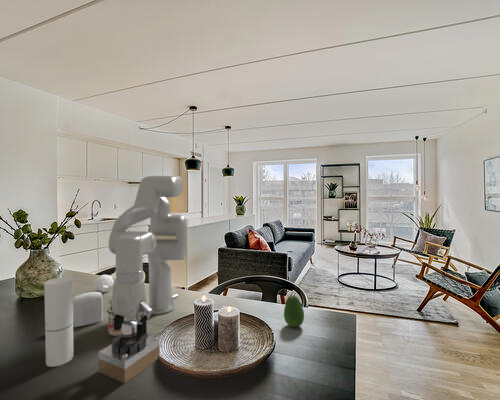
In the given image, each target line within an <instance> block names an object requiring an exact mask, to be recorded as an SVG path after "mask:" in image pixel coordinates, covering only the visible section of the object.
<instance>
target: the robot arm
mask: <svg viewBox="0 0 500 400" xmlns="http://www.w3.org/2000/svg"><path fill="white" fill-rule="evenodd" d="M183 189H184V181H183V179H182V177H181V176H179V175H148V176H145V177H143V178H142V179H141V180H140V183H139V185H138V190H137V192H136V196H135V200H134V202H133V205H132V206H130V207H129V208H128V209H126V210H125V211H124V212H123V213H122V214H121V215H119V216H118V217H117V219H115V221H114V223H113V226H112V228H111V232H110V235H109V239H108V249H109V252H110V253H112V254H114V255H115V280H114V283H113V286H112V287H113V288H112V292H111V293H112V297H111V299H110V300H108V303H109V305H110V306H111V311H112V312H113V314H112V316H113V317H114V330H118V329H120V328H122V323H123V322H124V317H128V318H136V320H137V322H138V324H137V338H140V337H141V336H143V335H145V334H146V333H147V331H148V330H147V328H148V327H147V322H148V321H149V320H150V318H151V316H152V315H163V314H167V313H170V312H172V311H173V310H174V309H175V307H176V304H175V302H173V301H174V300H176V299H177V298H178V297H179V295H178V294H177V293H175V294H173V295H172V267H171V265H170V264H169V263H168V261H181V260H184V259H185V258H186V257H187V255H188V221H187V219H186V217H185V216H184V215H182V214H171V203H170V201H169V200H168V198H177V197H178V196H180V195H181V194H182V193H183ZM148 219H150V222H149V223H150V231H145V230H143V231H141V230H140V231H137V230H134V231H127V230H128V229H129V228H131V227H132V226H134V225H136V224H138V223H140V222H143V221H146V220H148ZM156 236H157V237H176V238H156ZM144 255H147V262H148V282H149V283H148V295H149V296H148V301H149V303H148V304H147V294H146V286H145V281H144V279H143V278H144V268H143V267H144V266H143V265H144V264H143V263H144V262H143V261H144V258H143V257H144ZM110 306H109V307H110ZM141 317H142V318H141ZM147 334H148V333H147Z"/></svg>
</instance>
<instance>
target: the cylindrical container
mask: <svg viewBox="0 0 500 400" xmlns="http://www.w3.org/2000/svg"><path fill="white" fill-rule="evenodd" d="M43 287H44V326H45V327H44V330H45V331H44V332H45V334H44V335H45V341H44V342H45V366H47V367H51V368H54V367H59V366H62V365H64V364H67V363H69V362H70V361H71V360H72V359H74V353H75V352H74V326H73V301H74V295H73V293H74V292H73V291H74V290H73V277H71V276H70V277H68V276H66V277H65V276H64V277H56V278H51V279H48V280H46V281H45V282H44V286H43Z"/></svg>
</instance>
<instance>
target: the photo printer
mask: <svg viewBox="0 0 500 400" xmlns="http://www.w3.org/2000/svg"><path fill="white" fill-rule="evenodd" d="M103 301H104V298H103V294H102V292H100V291H89V292H84V293H80V294H77V295H75V296H74V298H73V328H77V327H82V326H87V325H92V324H97V323H101V322H102V321H103V319H104V311H103V310H104V308H103V307H104V302H103Z"/></svg>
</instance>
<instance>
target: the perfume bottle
mask: <svg viewBox="0 0 500 400" xmlns="http://www.w3.org/2000/svg"><path fill="white" fill-rule="evenodd" d="M114 282H115V280H114V279H113V277H112V276H110V275H109V274H102V275H100V276H98V277H97V278H96V279H95V281H94V284H93V285H94V287H95V290H97V292H101V293H102V292H103V293H107V292H108V291H110V290H111V289H112V287H113V286H114Z"/></svg>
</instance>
